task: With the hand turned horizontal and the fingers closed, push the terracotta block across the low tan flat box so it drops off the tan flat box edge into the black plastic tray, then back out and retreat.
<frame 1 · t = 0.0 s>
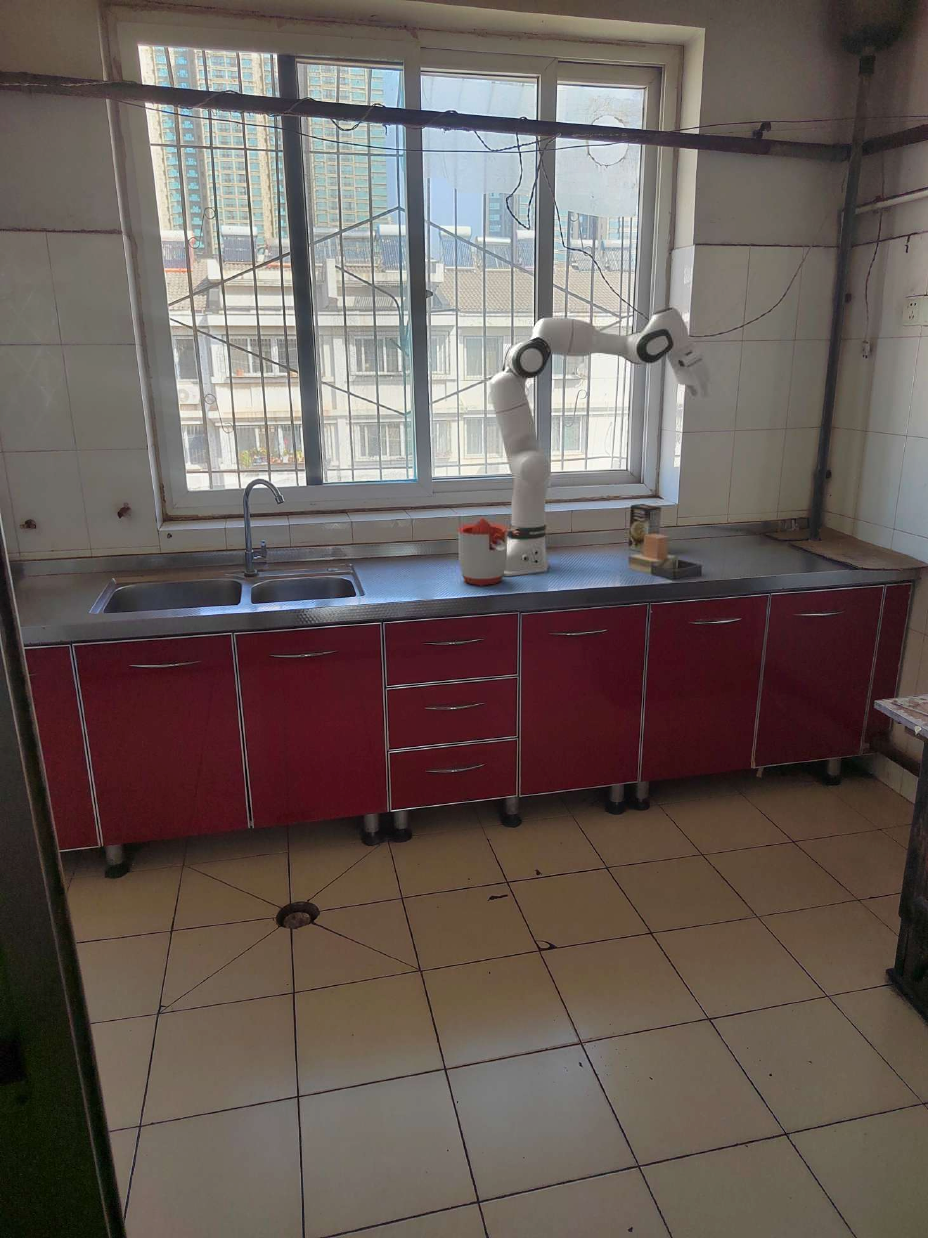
hand: (700, 395, 261), 54 cm above the worktop, tool tilted 30°, fingers open, 8 cm apart
tray: (675, 574, 260), on the worktop
tan flat box: (652, 568, 268), on the worktop
citrus juicer: (484, 582, 254), on the worktop
tile block: (655, 556, 266), point 4 cm above the worktop, touching tan flat box
coffee box: (643, 550, 293), on the worktop
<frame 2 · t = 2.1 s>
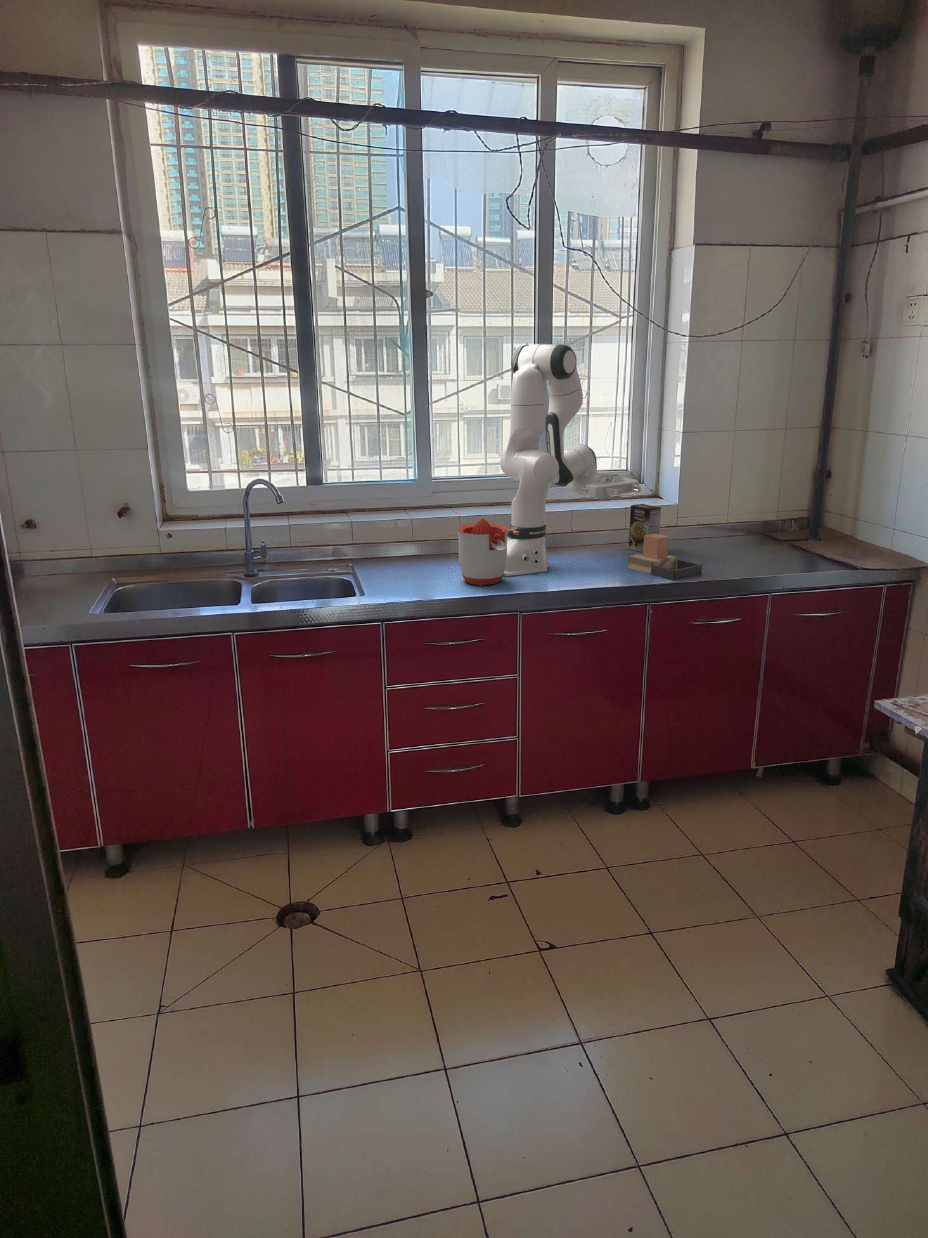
hand: (629, 491, 270), 24 cm above the worktop, tool horizontal, fingers open, 8 cm apart
nothing on the worktop moved.
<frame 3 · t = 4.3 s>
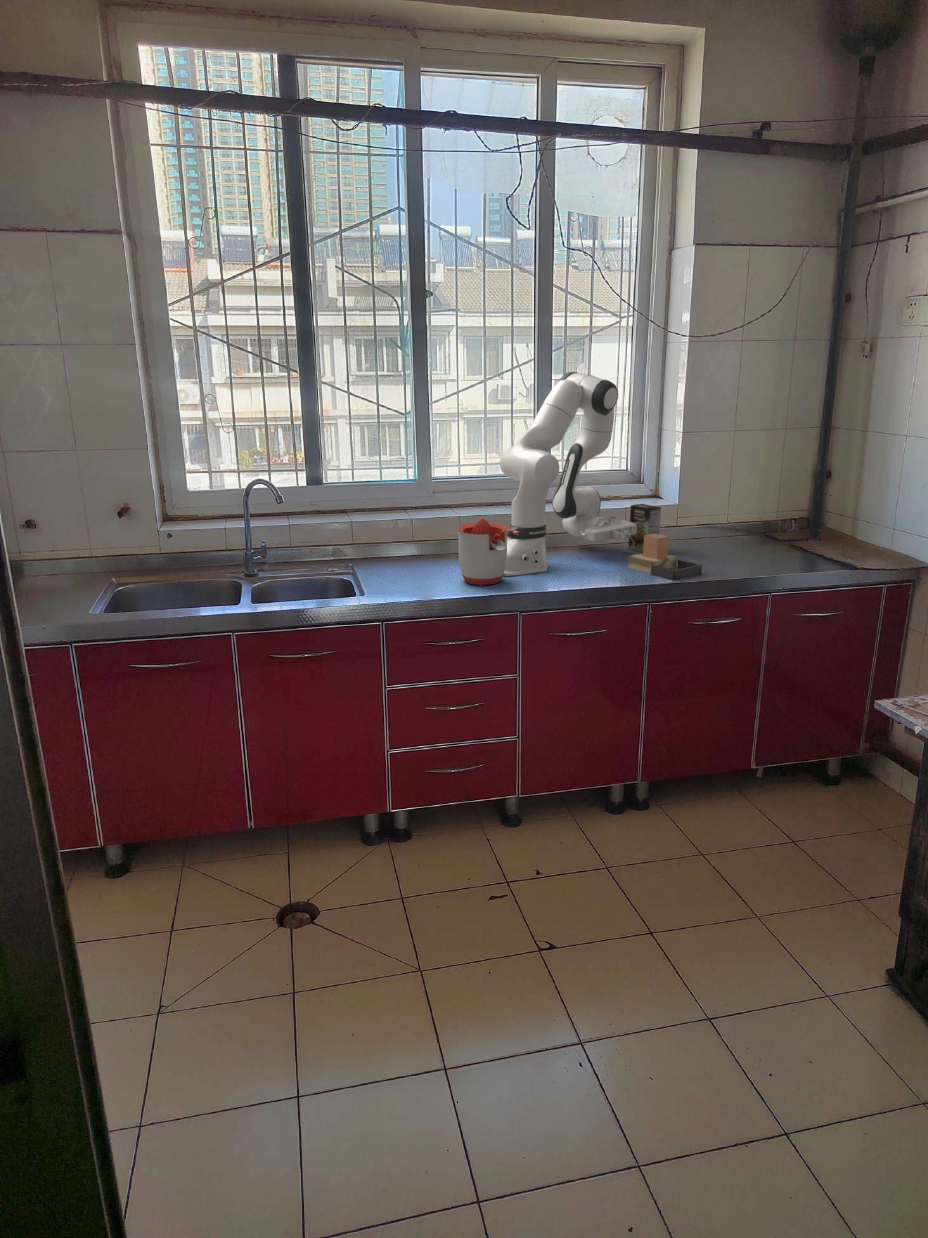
hand: (627, 535, 274), 9 cm above the worktop, tool horizontal, fingers closed
nothing on the worktop moved.
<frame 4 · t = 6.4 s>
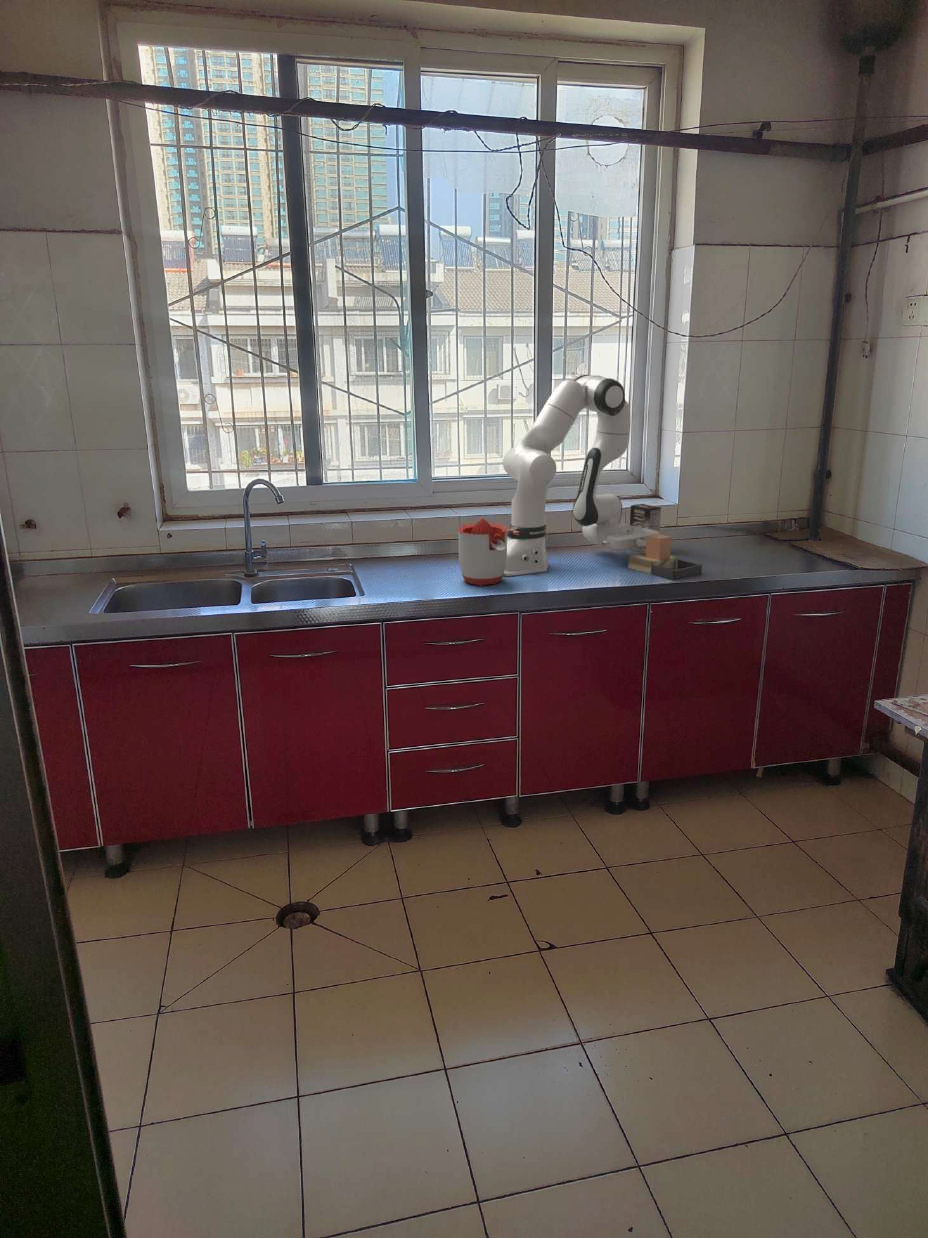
hand: (651, 543, 266), 8 cm above the worktop, tool horizontal, fingers closed
tile block: (657, 557, 265), point 4 cm above the worktop
everything else where it was.
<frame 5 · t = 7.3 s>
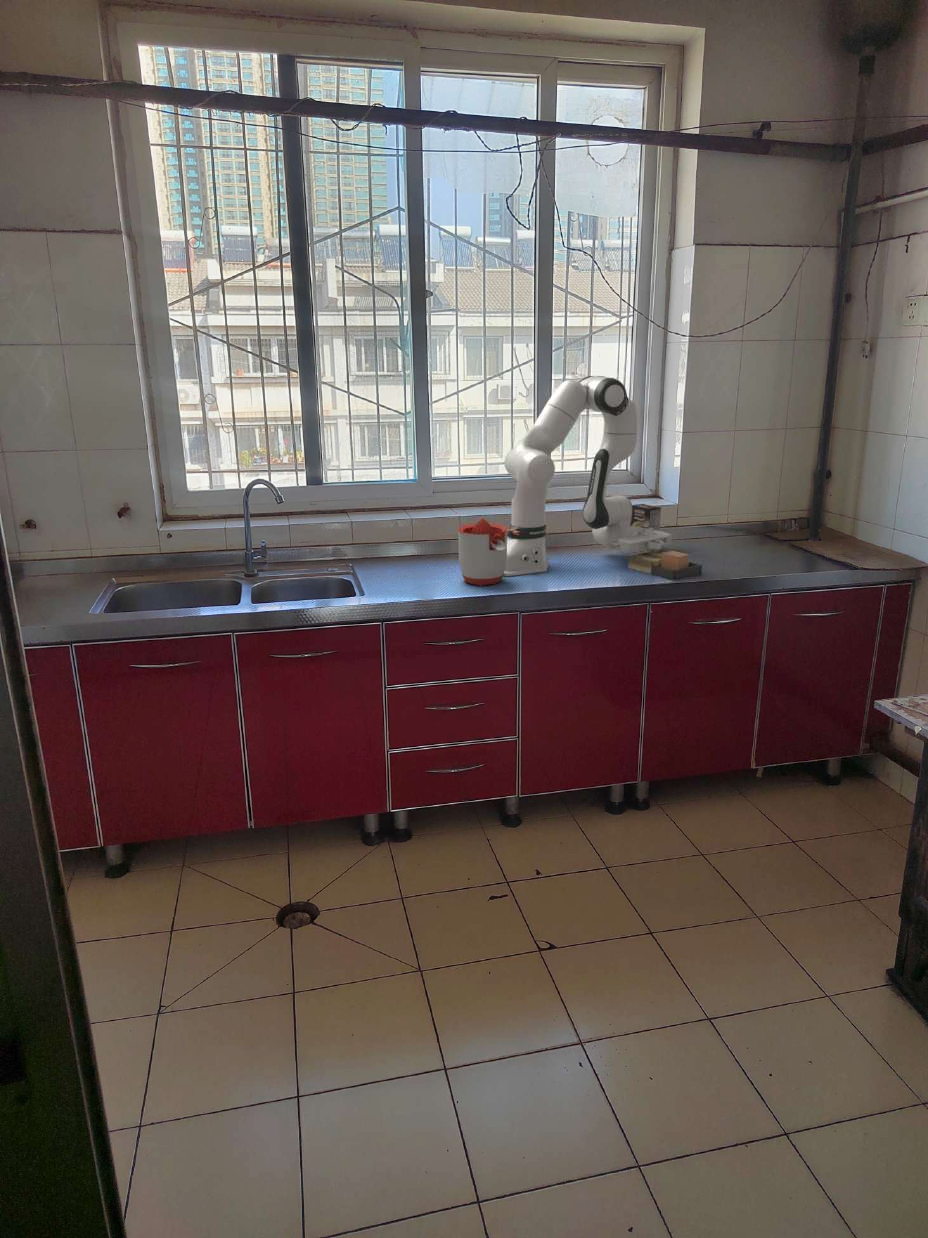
hand: (663, 546, 262), 8 cm above the worktop, tool horizontal, fingers closed
tile block: (666, 560, 262), point 4 cm above the worktop, tilted 90°, touching tray
everything else where it was.
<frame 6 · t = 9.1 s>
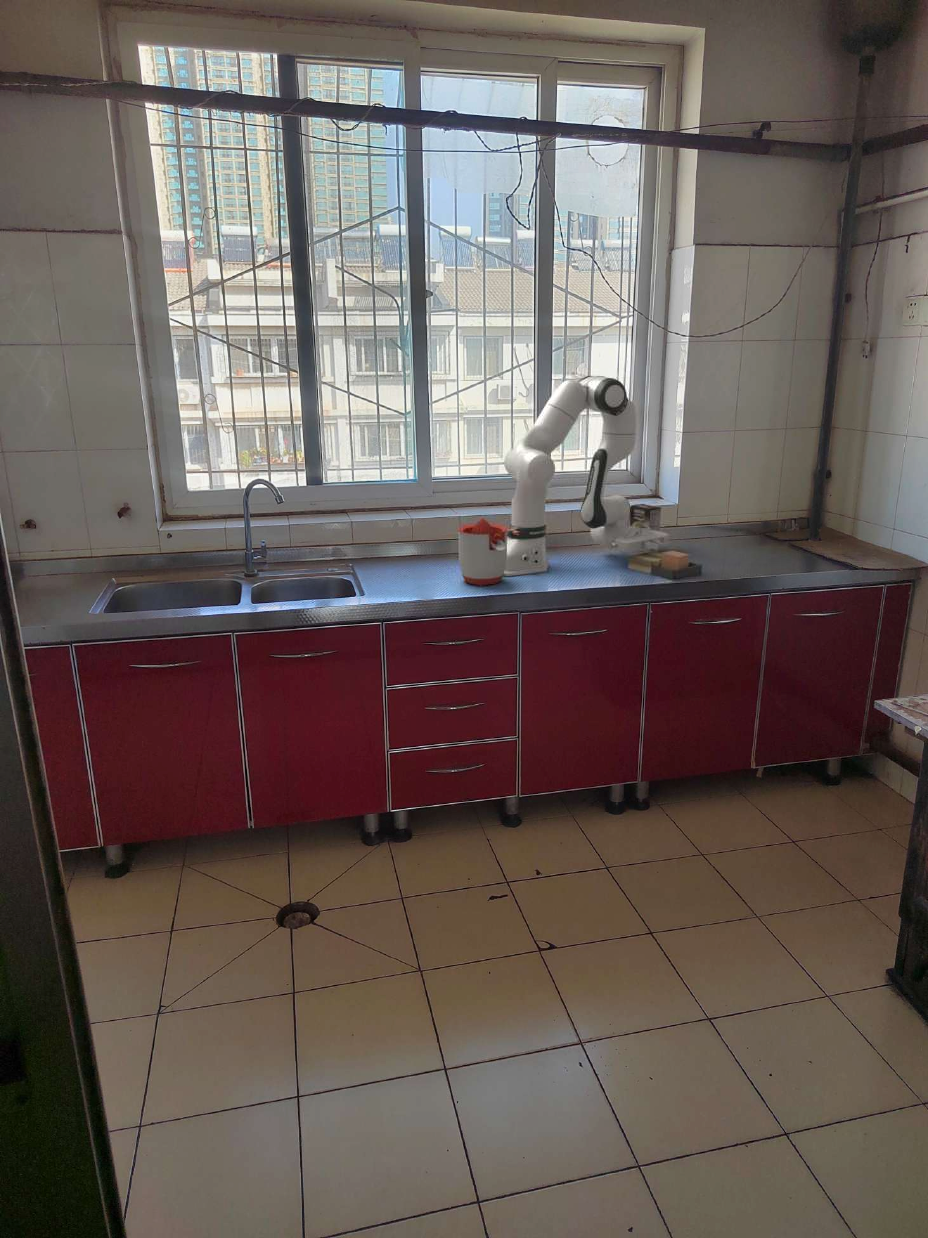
hand: (660, 546, 263), 8 cm above the worktop, tool horizontal, fingers closed
nothing on the worktop moved.
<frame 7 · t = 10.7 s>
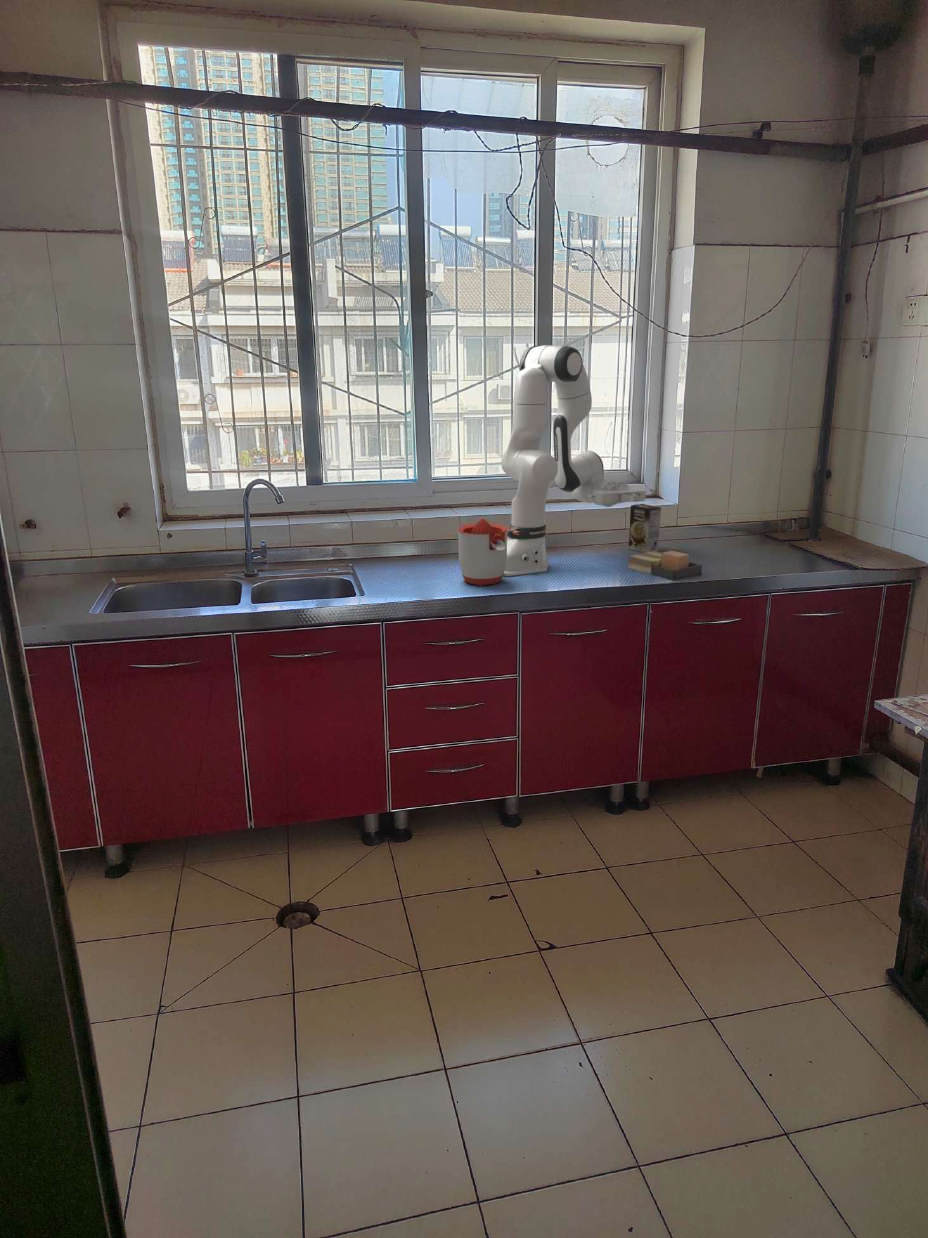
hand: (636, 499, 267), 22 cm above the worktop, tool horizontal, fingers closed
nothing on the worktop moved.
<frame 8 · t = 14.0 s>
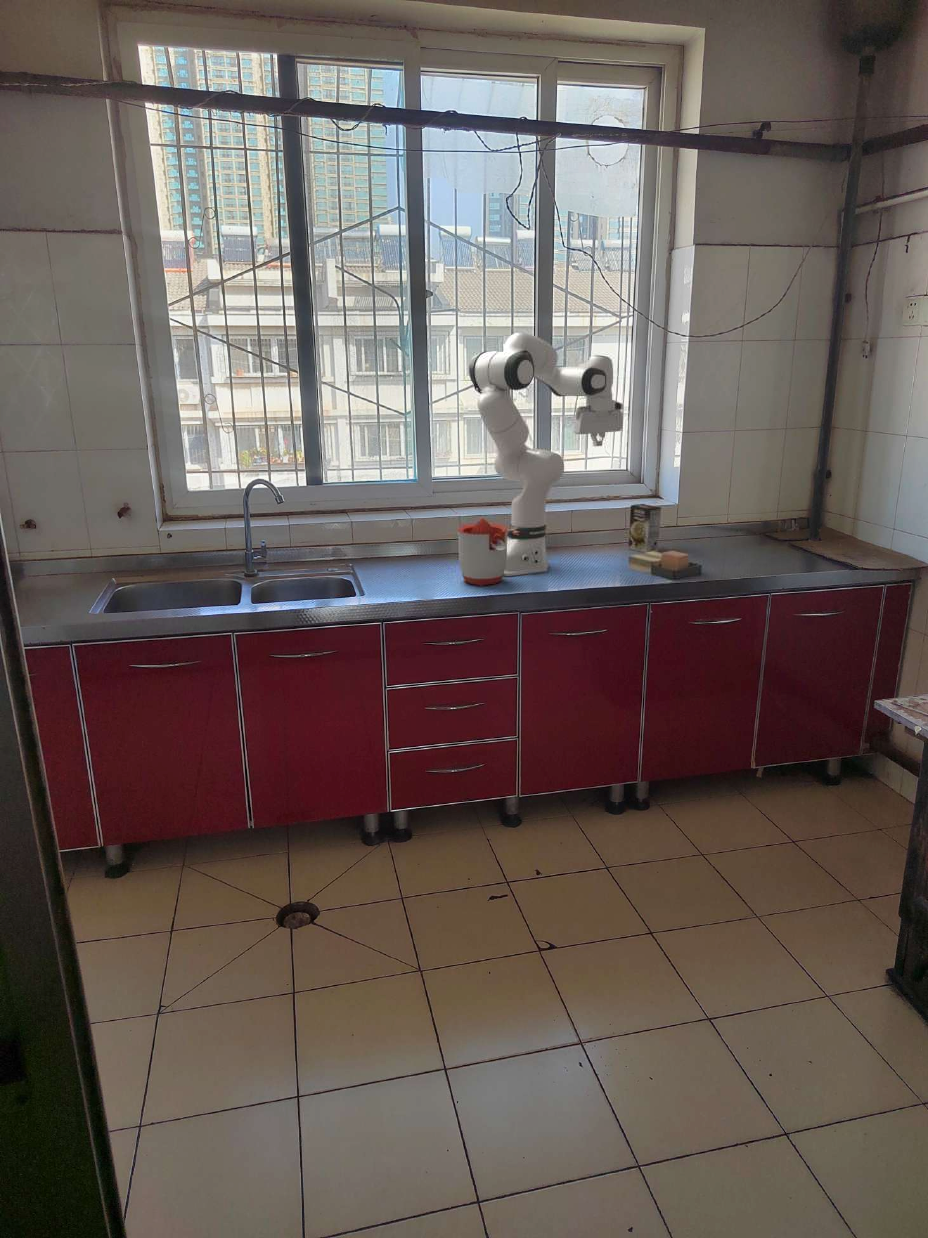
hand: (597, 446, 282), 37 cm above the worktop, tool pointing down, fingers closed
nothing on the worktop moved.
at the end: tile block inside the target area on the tray (4.4 cm from its centre), point 3.6 cm above the tray's base; tile block moved 4.9 cm from its start; tile block touching tray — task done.
